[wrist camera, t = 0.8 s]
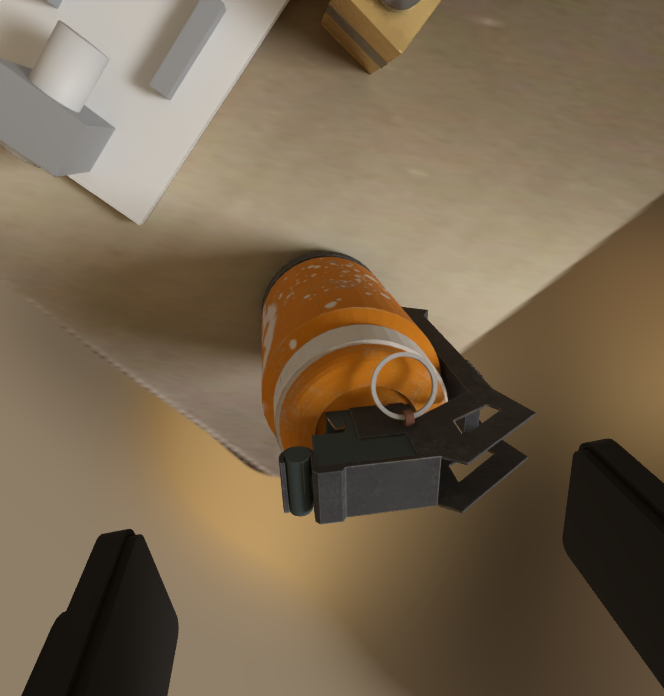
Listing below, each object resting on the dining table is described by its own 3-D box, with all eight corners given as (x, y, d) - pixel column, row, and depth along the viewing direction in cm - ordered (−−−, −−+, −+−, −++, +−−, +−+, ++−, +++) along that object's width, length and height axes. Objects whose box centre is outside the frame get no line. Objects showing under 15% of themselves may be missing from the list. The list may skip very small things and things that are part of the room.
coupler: (363, -43, 26) (401, -112, 19) (414, 14, 27) (467, -31, 20) (319, 23, 27) (339, -20, 20) (370, 75, 28) (406, 51, 21)
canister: (256, 253, 32) (247, 398, 13) (411, 243, 33) (593, 365, 15) (267, 368, 35) (272, 605, 17) (406, 356, 36) (548, 564, 18)
